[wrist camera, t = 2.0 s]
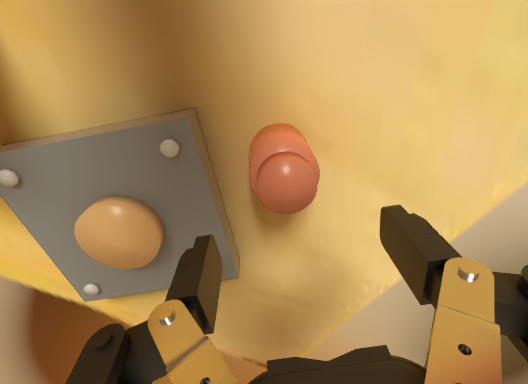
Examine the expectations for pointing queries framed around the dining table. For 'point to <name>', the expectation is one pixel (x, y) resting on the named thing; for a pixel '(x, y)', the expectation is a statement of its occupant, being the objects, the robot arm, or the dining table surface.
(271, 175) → the orange rounded knob
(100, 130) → the square plate with knob
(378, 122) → the dining table surface
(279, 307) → the dining table surface
